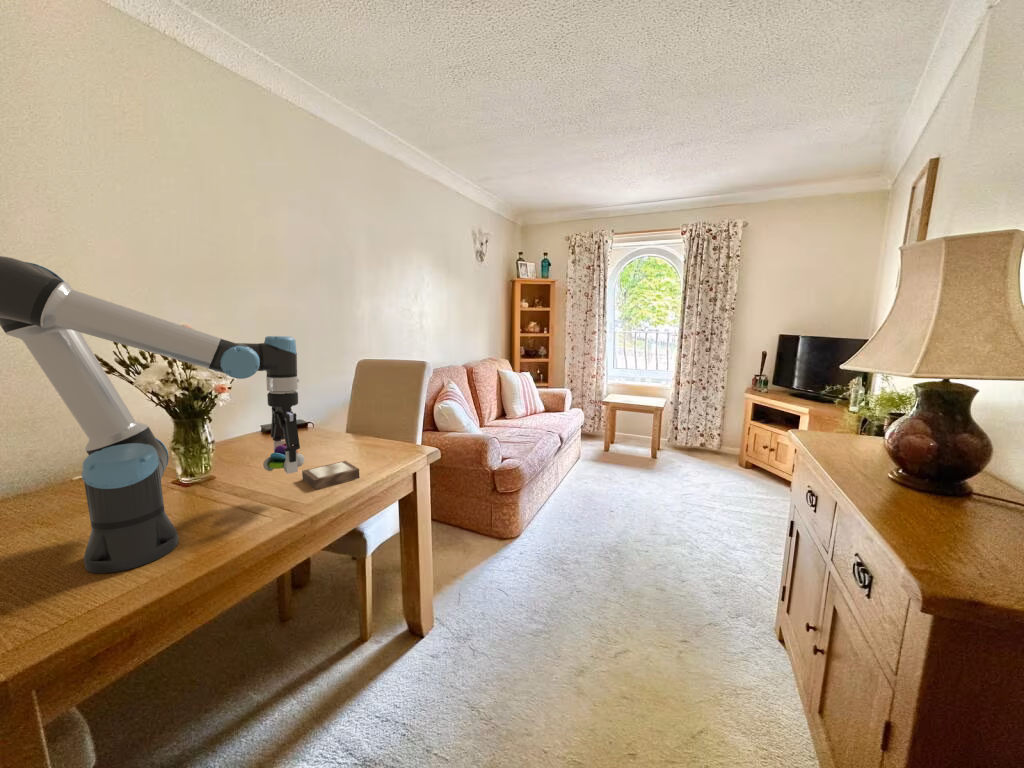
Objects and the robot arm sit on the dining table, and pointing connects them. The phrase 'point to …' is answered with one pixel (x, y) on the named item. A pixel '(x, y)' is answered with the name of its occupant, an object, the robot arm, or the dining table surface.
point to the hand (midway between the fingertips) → (285, 467)
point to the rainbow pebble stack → (280, 459)
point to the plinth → (330, 474)
